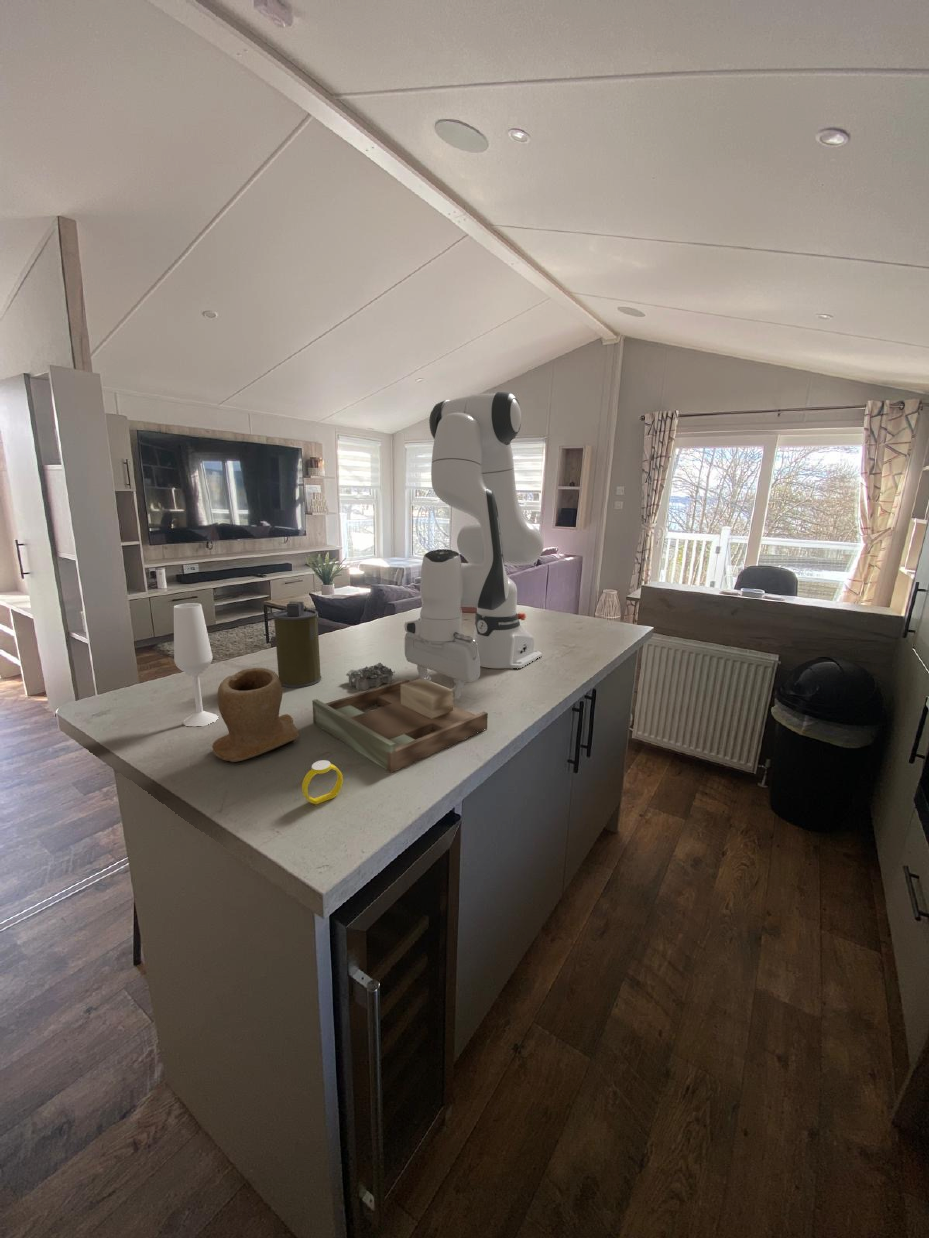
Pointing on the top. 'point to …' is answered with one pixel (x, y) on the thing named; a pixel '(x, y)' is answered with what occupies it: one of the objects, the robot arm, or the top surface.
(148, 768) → the top surface
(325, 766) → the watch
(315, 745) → the top surface
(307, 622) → the canister
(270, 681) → the clay pipe
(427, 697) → the block
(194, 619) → the champagne flute
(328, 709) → the brown shallow open piece
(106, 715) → the top surface
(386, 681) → the egg carton
